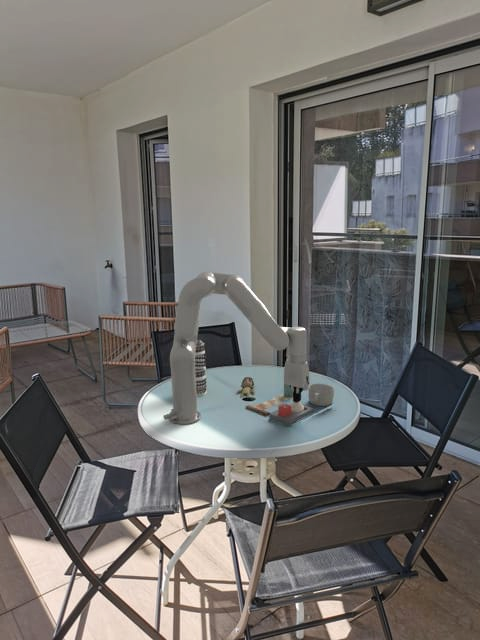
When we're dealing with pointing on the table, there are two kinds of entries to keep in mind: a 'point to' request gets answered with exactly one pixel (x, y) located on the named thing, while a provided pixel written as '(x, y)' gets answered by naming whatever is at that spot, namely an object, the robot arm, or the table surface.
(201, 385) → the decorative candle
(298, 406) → the dome
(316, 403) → the teacup
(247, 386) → the figurine
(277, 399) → the track board
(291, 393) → the green capsule
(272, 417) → the base
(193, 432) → the table surface
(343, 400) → the table surface
